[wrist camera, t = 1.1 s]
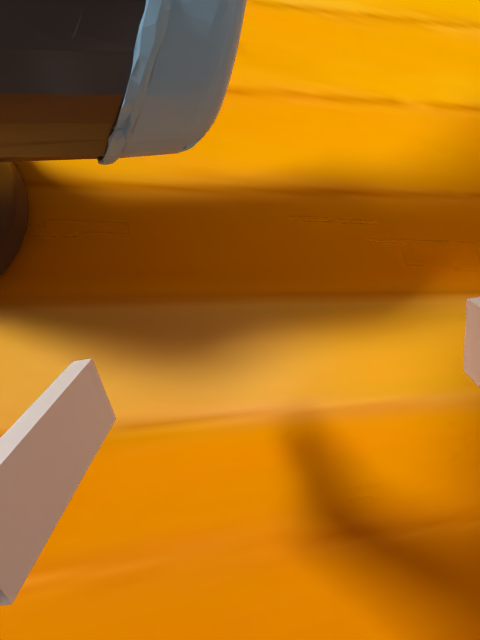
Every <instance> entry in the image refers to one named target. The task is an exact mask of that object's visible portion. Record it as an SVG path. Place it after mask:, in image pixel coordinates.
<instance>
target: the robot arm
mask: <svg viewBox="0 0 480 640" xmlns="http://www.w3.org/2000/svg"><path fill="white" fill-rule="evenodd" d="M246 1H247V0H0V275H1V274H2V273H3V272H4V271H5V269H6V268H7V267H8V266H9V264H10V263H11V261H12V260H13V258H14V257H15V255H16V253H17V251H18V249H19V247H20V245H21V243H22V240H23V237H24V234H25V231H26V226H27V219H28V199H27V193H26V189H25V185H24V182H23V179H22V177H21V175H20V173H19V171H18V169H17V167H16V165H15V164H14V162H16V161H44V160H73V159H97V160H98V163H99V164H102V165H108V164H112V163H113V162H115V161H116V160H117V159H118V158H126V157H139V156H151V155H163V154H174V153H179V152H182V151H185V150H188V149H190V148H192V147H193V146H194V145H195V144H196V143H197V142H198V141H199V140H200V139H202V138H203V137H204V135H205V134H206V133H207V132H208V131H209V129H210V127H211V126H212V124H213V123H214V122H215V119H216V117H217V115H218V113H219V111H220V108H221V106H222V103H223V100H224V97H225V94H226V91H227V88H228V84H229V81H230V77H231V73H232V69H233V65H234V61H235V57H236V53H237V48H238V44H239V39H240V34H241V28H242V23H243V18H244V12H245V6H246ZM463 371H464V372H465V373H466V374H467V375H468V376H469V377H470V378H471V379H472V380H473V381H474V382H475V383H476V384H477V385H478V386H479V387H480V297H475V298H469V299H467V301H466V323H465V345H464V367H463ZM115 419H116V417H115V414H114V412H113V409H112V407H111V404H110V402H109V399H108V397H107V395H106V392H105V390H104V387H103V385H102V382H101V380H100V377H99V375H98V372H97V370H96V367H95V365H94V362H93V360H92V358H91V359H85V360H79V361H73V362H72V363H71V364H70V365H69V366H68V367H67V368H66V369H65V370H64V371H63V372H62V373H61V374H60V376H59V377H58V378H57V379H56V380H55V381H54V382H53V383H52V384H51V385H50V386H49V387H48V388H47V389H46V390H45V391H44V392H43V393H42V395H41V396H40V397H39V398H38V399H37V400H36V401H35V402H34V403H33V404H32V405H31V406H30V407H29V408H28V409H27V410H26V411H25V413H24V414H23V415H22V416H21V417H20V418H19V419H18V420H17V421H16V422H15V423H14V424H13V425H12V426H11V427H10V428H9V429H8V431H7V432H6V433H5V434H4V435H3V436H2V437H1V438H0V605H6V604H12V603H13V601H14V599H15V597H16V596H17V594H18V592H19V590H20V589H21V587H22V585H23V583H24V581H25V580H26V578H27V576H28V574H29V573H30V571H31V569H32V567H33V565H34V564H35V562H36V560H37V558H38V557H39V555H40V553H41V551H42V549H43V548H44V546H45V544H46V542H47V540H48V539H49V537H50V535H51V533H52V532H53V530H54V528H55V526H56V524H57V523H58V521H59V519H60V517H61V516H62V514H63V512H64V510H65V508H66V507H67V505H68V503H69V501H70V500H71V498H72V496H73V494H74V492H75V491H76V489H77V487H78V485H79V484H80V482H81V480H82V478H83V476H84V475H85V473H86V471H87V469H88V468H89V466H90V464H91V462H92V460H93V459H94V457H95V455H96V453H97V451H98V450H99V448H100V446H101V444H102V443H103V441H104V439H105V437H106V435H107V434H108V432H109V430H110V428H111V427H112V425H113V423H114V421H115Z"/></svg>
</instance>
